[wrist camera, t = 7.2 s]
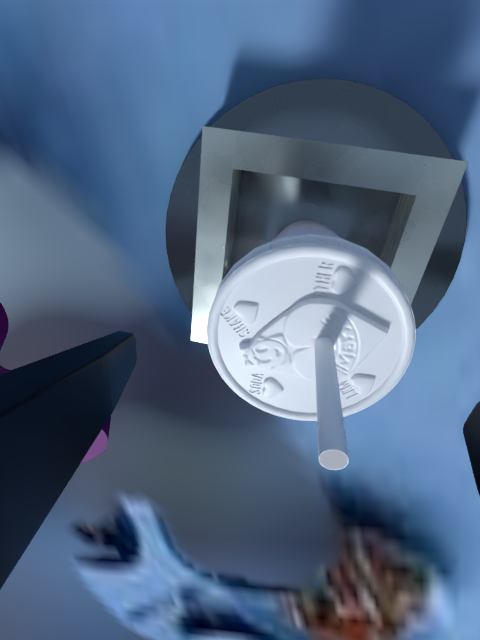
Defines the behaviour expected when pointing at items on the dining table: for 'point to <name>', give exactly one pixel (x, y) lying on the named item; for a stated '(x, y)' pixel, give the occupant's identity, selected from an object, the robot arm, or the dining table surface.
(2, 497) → the robot arm
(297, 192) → the disk with square socket
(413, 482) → the dining table surface
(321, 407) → the smoothie
